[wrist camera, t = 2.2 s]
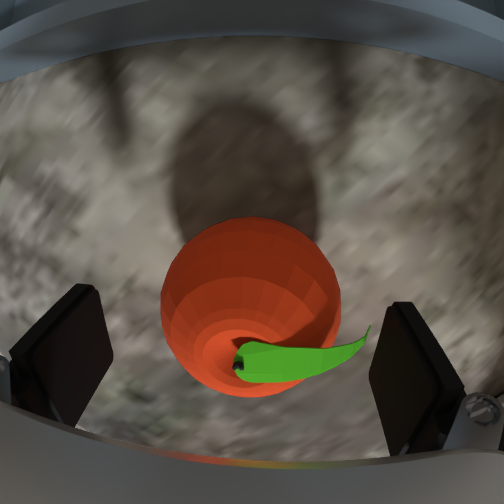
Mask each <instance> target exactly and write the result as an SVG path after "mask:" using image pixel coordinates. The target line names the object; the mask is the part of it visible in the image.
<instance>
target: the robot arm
mask: <svg viewBox="0 0 504 504" xmlns="http://www.w3.org/2000/svg"><path fill="white" fill-rule="evenodd" d="M9 353H10V355H11V358H12V360H11V361H10V362H9V361H8V360H7V359H6V358H5V357H3V356H1V355H0V504H504V394H502V395H501V396H499V397H498V398H496V399H495V398H494V397H492V396H491V395H489V394H485V393H482V392H474V393H471V394H468V395H466V393H465V391H464V385H463V383H462V381H461V380H460V378H459V376H458V374H457V373H456V371H455V369H454V368H453V366H452V364H451V363H450V361H449V359H448V358H447V356H446V354H445V353H444V351H443V349H442V348H441V346H440V345H439V343H438V341H437V340H436V338H435V337H434V335H433V333H432V332H431V330H430V329H429V327H428V326H427V324H426V323H425V321H424V319H423V318H422V316H421V315H420V313H419V312H418V310H417V309H416V307H415V306H414V304H413V303H412V302H394V303H393V304H392V306H389V307H388V308H387V310H386V314H385V318H384V321H383V325H382V329H381V333H380V336H379V340H378V343H377V347H376V350H375V354H374V357H373V360H372V363H371V367H370V370H369V382H370V385H371V388H372V392H373V395H374V398H375V402H376V405H377V409H378V412H379V416H380V419H381V423H382V427H383V430H384V434H385V438H386V441H387V445H388V449H389V453H390V457H381V458H370V459H357V460H343V461H320V462H278V461H256V460H241V459H229V458H219V457H210V456H202V455H194V454H187V453H181V452H175V451H169V450H163V449H158V448H153V447H148V446H143V445H138V444H134V443H129V442H125V441H121V440H117V439H113V438H109V437H105V436H102V435H98V434H94V433H91V432H87V431H84V430H81V429H77V428H75V426H76V424H77V422H78V420H79V419H80V417H81V415H82V413H83V412H84V410H85V408H86V406H87V405H88V403H89V401H90V399H91V398H92V396H93V394H94V392H95V391H96V389H97V387H98V385H99V384H100V382H101V380H102V379H103V377H104V375H105V374H106V372H107V370H108V369H109V367H110V365H111V364H112V361H113V350H112V346H111V343H110V339H109V335H108V331H107V327H106V322H105V318H104V314H103V309H102V305H101V300H100V295H99V292H98V290H95V288H94V286H93V285H88V284H79V283H77V284H76V285H74V286H73V287H72V288H71V289H70V290H69V291H68V292H67V293H66V294H65V295H64V296H63V297H62V298H61V299H60V300H59V301H57V302H56V303H55V304H54V305H53V306H52V307H51V308H50V309H49V310H48V311H47V312H46V313H45V314H44V315H43V316H42V317H41V318H40V319H39V320H38V321H37V322H36V323H35V324H34V325H33V326H32V327H31V328H30V329H29V330H28V331H27V332H26V333H25V335H24V336H23V337H22V338H21V339H20V340H19V341H18V342H17V343H16V344H15V345H14V346H13V347H12V348H11V349H10V350H9Z"/></svg>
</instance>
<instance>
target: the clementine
mask: <svg viewBox="0 0 504 504" xmlns="http://www.w3.org/2000/svg"><path fill="white" fill-rule="evenodd" d="M340 319H341V299H340V288H339V285H338V282H337V279H336V275H335V272H334V269H333V268H332V266H331V265H330V263H329V262H328V260H327V259H326V258H325V256H324V255H323V253H322V252H321V250H320V249H319V248H318V246H317V245H316V244H315V243H314V242H313V241H311V240H310V239H309V238H308V237H307V236H305V235H304V234H303V233H302V232H300V231H299V230H298V229H295V228H293V227H291V226H289V225H287V224H284V223H282V222H280V221H278V220H272V219H266V218H260V217H243V218H233V219H229V220H226V221H223V222H221V223H218V224H216V225H213V226H210V227H209V228H207V229H205V230H204V231H202V232H201V233H199V234H198V235H197V236H195V237H194V238H193V239H191V240H190V241H189V242H188V243H186V244H185V245H184V246H183V248H182V249H181V250H180V252H179V253H178V254H177V256H176V257H175V259H174V260H173V261H172V263H171V265H170V268H169V270H168V272H167V275H166V278H165V281H164V284H163V287H162V290H161V321H162V327H163V331H164V334H165V337H166V341H167V344H168V345H169V347H170V348H171V350H172V352H173V353H174V355H175V356H176V358H177V360H178V361H179V362H180V363H181V365H182V366H183V367H184V368H185V369H186V370H187V371H188V372H189V373H190V374H191V375H192V376H193V377H194V378H195V379H197V380H198V381H200V382H201V383H203V384H205V385H206V386H208V387H209V388H212V389H214V390H217V391H219V392H222V393H225V394H228V395H234V396H240V397H263V396H268V395H272V394H277V393H280V392H282V391H284V390H286V389H288V388H291V387H293V386H294V385H296V384H298V383H300V382H301V381H303V380H304V379H305V378H308V377H311V376H314V375H317V374H320V373H323V372H325V371H327V370H329V369H331V368H333V367H336V366H337V365H339V364H341V363H343V362H344V361H346V360H348V359H349V358H351V357H352V356H353V355H354V354H355V353H356V352H357V351H358V350H359V349H360V348H361V347H362V345H363V344H364V343H365V340H366V338H367V335H368V332H369V330H370V327H371V325H370V326H369V328H368V330H367V333H366V335H365V336H364V337H362V338H361V339H359V340H357V341H355V342H354V343H350V344H346V345H341V346H335V347H332V345H333V343H334V341H335V338H336V335H337V332H338V329H339V326H340Z"/></svg>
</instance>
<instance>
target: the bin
mask: <svg viewBox="0 0 504 504" xmlns="http://www.w3.org/2000/svg"><path fill="white" fill-rule="evenodd" d="M217 36H291V37H307V38H319V39H329V40H338V41H346V42H353V43H360V44H366V45H372V46H378V47H383V48H389V49H394V50H398V51H403V52H408V53H412V54H416V55H420V56H424V57H428V58H432V59H436V60H439V61H443V62H446V63H450V64H453V65H456V66H459V67H462V68H465V69H468V70H471V71H474V72H477V73H480V74H483V75H486V76H488V77H491V78H494V79H496V80H499V81H501V82H504V0H0V82H6V81H9V80H11V79H14V78H17V77H19V76H22V75H25V74H28V73H30V72H33V71H36V70H39V69H42V68H45V67H48V66H52V65H55V64H58V63H62V62H65V61H69V60H72V59H76V58H80V57H84V56H87V55H92V54H96V53H100V52H105V51H109V50H114V49H119V48H124V47H130V46H135V45H141V44H148V43H155V42H162V41H170V40H179V39H189V38H201V37H217Z"/></svg>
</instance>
